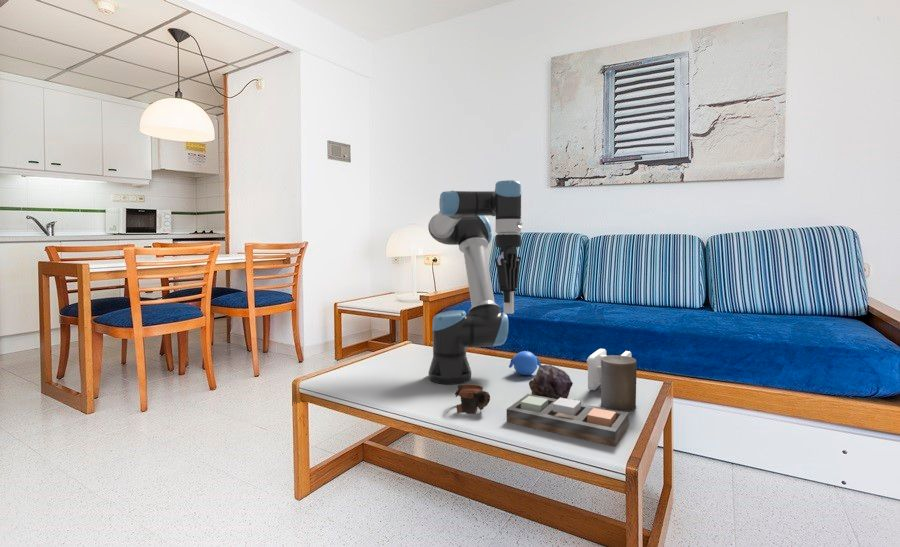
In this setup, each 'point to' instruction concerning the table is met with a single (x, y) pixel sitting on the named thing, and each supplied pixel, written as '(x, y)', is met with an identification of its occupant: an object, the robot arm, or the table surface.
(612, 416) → the orange square block
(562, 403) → the white key
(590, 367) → the cable organizer
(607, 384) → the pillar candle
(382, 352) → the table surface
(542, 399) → the sage key
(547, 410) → the keypad
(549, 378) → the rock
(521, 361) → the blue rounded piece
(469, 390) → the pottery mug
